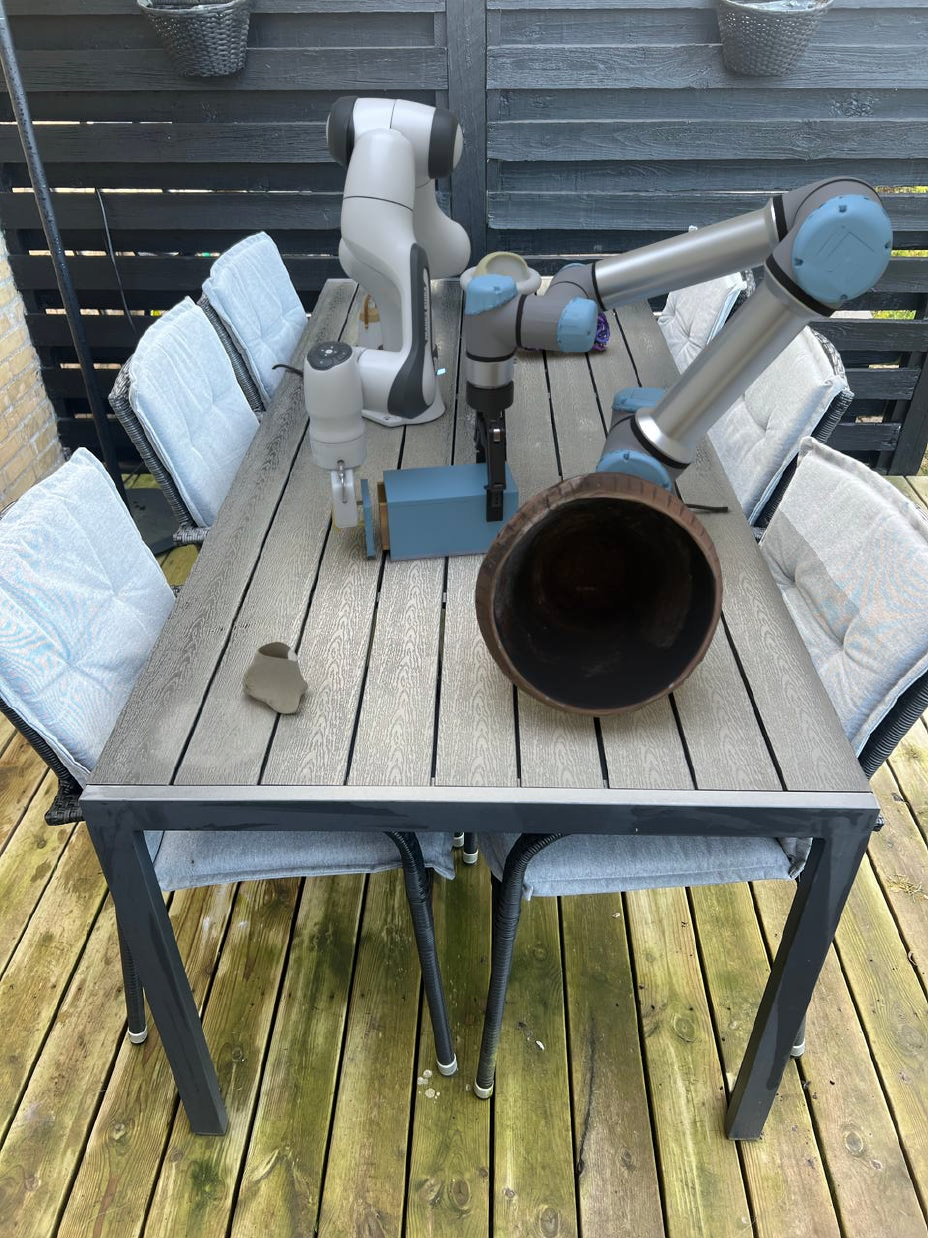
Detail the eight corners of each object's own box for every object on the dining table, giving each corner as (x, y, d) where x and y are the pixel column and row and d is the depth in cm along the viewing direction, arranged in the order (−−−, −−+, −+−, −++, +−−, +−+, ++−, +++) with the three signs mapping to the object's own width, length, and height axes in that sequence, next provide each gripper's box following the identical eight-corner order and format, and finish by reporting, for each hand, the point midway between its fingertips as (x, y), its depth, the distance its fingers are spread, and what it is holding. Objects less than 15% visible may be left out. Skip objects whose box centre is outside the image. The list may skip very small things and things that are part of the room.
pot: (520, 423, 138) (555, 432, 109) (702, 511, 144) (783, 542, 115) (430, 616, 144) (441, 674, 115) (608, 693, 150) (662, 767, 121)
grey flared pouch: (308, 702, 131) (315, 635, 129) (297, 722, 124) (304, 652, 121) (246, 693, 131) (251, 626, 129) (231, 713, 124) (236, 642, 121)
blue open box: (391, 561, 156) (387, 502, 149) (386, 527, 164) (382, 470, 158) (517, 550, 158) (518, 491, 151) (506, 517, 167) (507, 460, 160)
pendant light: (382, 354, 227) (374, 226, 209) (352, 350, 230) (341, 223, 212) (395, 343, 234) (388, 216, 215) (366, 339, 236) (356, 214, 218)
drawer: (336, 558, 155) (330, 510, 149) (334, 528, 162) (329, 481, 157) (486, 545, 158) (486, 497, 152) (478, 516, 165) (478, 469, 159)
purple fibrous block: (616, 330, 219) (490, 333, 216) (609, 367, 227) (487, 369, 225) (606, 296, 227) (484, 298, 224) (599, 332, 235) (482, 335, 233)
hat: (455, 295, 261) (454, 240, 252) (532, 292, 263) (534, 237, 254) (465, 327, 242) (464, 268, 233) (548, 323, 244) (550, 264, 235)
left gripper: (363, 477, 140) (370, 553, 149) (355, 418, 156) (362, 490, 165) (321, 480, 139) (330, 557, 148) (317, 421, 155) (326, 493, 164)
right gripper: (527, 410, 136) (523, 537, 149) (501, 350, 154) (499, 468, 168) (477, 413, 135) (477, 541, 149) (456, 353, 153) (458, 471, 167)
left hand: (347, 521), depth 156 cm, fingers closed, pressing on drawer
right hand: (489, 502), depth 158 cm, fingers closed on blue open box, 11 cm apart
